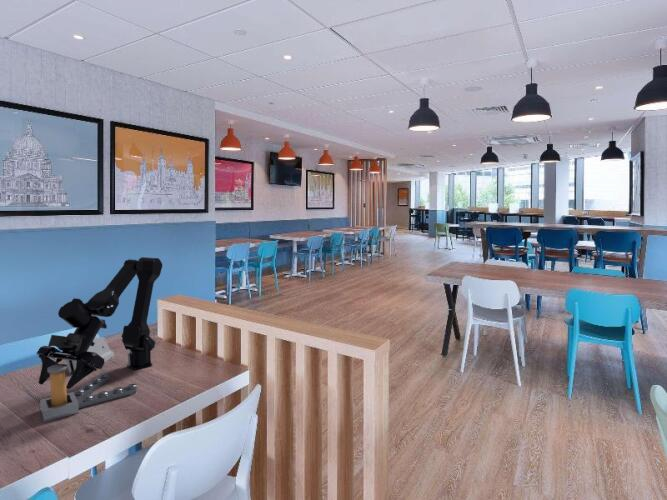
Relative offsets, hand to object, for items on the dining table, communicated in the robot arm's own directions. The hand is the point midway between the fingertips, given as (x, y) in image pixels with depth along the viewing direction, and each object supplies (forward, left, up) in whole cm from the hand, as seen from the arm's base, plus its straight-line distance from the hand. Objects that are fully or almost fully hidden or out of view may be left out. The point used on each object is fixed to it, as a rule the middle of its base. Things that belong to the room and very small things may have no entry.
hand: (53, 386), depth 113 cm
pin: (-1, -1, -8) cm, 8 cm away
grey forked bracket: (-9, -7, -8) cm, 14 cm away
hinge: (-14, -33, -8) cm, 37 cm away
